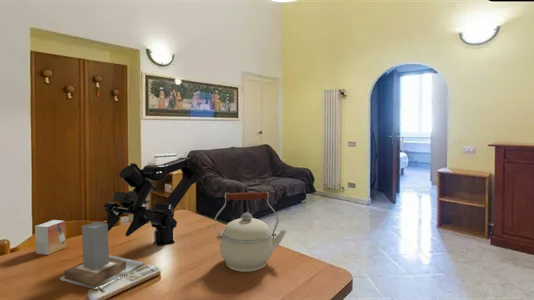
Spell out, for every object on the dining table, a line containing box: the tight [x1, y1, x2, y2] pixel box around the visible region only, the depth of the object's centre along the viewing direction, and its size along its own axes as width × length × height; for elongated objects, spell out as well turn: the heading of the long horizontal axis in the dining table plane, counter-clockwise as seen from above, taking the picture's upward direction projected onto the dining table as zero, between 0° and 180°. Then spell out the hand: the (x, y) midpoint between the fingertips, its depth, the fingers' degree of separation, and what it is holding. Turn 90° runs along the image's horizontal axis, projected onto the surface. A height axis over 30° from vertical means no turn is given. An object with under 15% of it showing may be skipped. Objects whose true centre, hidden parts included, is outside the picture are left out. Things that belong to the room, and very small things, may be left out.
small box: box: [34, 219, 67, 256], centre depth 118 cm, size 8×6×10 cm
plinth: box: [59, 254, 145, 290], centre depth 102 cm, size 18×16×4 cm
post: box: [81, 221, 110, 270], centre depth 99 cm, size 5×5×13 cm
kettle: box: [214, 191, 288, 273], centre depth 109 cm, size 25×18×25 cm
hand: (115, 233), depth 106 cm, fingers open, 9 cm apart
